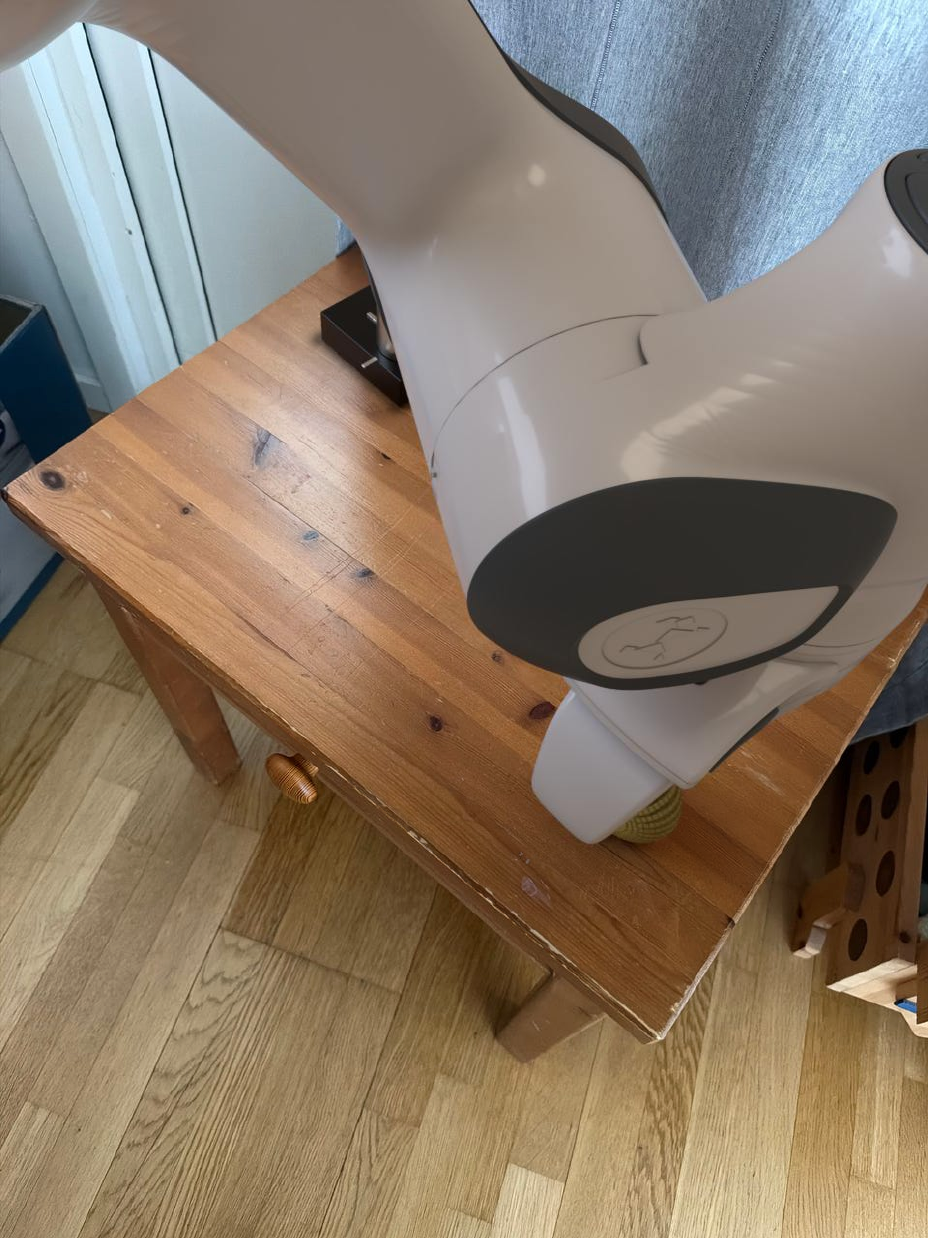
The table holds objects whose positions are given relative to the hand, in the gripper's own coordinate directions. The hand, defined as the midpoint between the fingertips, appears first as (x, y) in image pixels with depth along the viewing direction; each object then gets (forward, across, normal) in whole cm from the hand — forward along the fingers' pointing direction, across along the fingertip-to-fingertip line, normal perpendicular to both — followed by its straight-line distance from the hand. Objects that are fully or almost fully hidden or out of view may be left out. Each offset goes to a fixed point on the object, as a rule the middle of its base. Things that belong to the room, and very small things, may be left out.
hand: (669, 723), depth 47 cm
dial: (+10, -15, -37) cm, 41 cm away
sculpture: (+14, 0, 0) cm, 14 cm away
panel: (+13, -18, -39) cm, 45 cm away
